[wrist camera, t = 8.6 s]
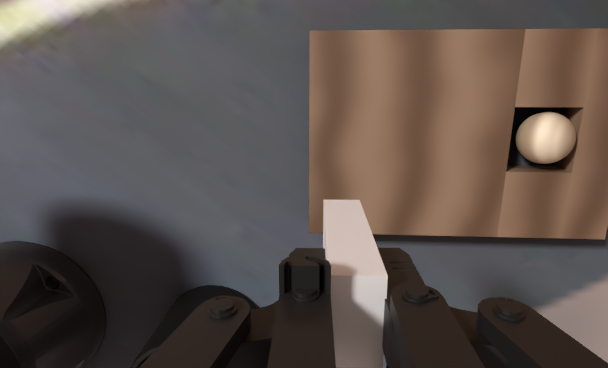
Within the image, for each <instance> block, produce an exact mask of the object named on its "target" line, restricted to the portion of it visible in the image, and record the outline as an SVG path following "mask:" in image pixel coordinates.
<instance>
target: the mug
mask: <svg viewBox="0 0 608 368" xmlns="http://www.w3.org/2000/svg"><path fill="white" fill-rule="evenodd" d="M225 295H227V296H236V297H240V298H243V299H244V300H246V301H247V302H248V303H249V306H250V310H252V309H255V307H254V306H253V304H252V303H251V302H250V301H249V300H248V299H247V298H246V297H244V296H243V295H242V294H240V293H238V292H237V291H235V290H232V289H230V288H226V287H223V286H215V285H207V286H201V287H198V288H195V289H192V290H190V291H188V292H186V293H184V294H183V295H182V296H180V297H179V299H178V300H177V301H176V302H175V303H174V305H173V306H172V308H171V309H170V311H169V312H168V313H167V315H166V316H165V318H164V319H163V321H162V322H161V324H160V325H159V326H158V328H157V329H156V331H155V332H154V334H153V335H152V337H151V338H150V340H149V341H148V342H147V344H146V345H145V347H144V348H143V350H142V351H141V353H140V354H139V355H138V357H137V358H136V360H135V361H134V363H133V364H132V366H131V367H130V368H139V367H140V366H141V365H142V364H143V363H144V362H145V361H146V360H147V359H148V358H149V357H150V356H151V355H152V354H153V353H154V352H155V351H156V350H157V349H158V347H159V346H160V345H161V344H162V343H163V342H164V341H165V340H166V339H167V338H168V337H169V336H170V335H171V334H172V333H173V332H174V331H175V330H176V329H177V328H178V327H179V326H180V325H181V324H182V323H183V322H184V321H185V319H186V318H187V317H188V316H189V315H190V314H191V313H192V312H193V311H194V310H195V309H196V308H197V307H198V306H199V305H201V304H202V303H203V302H205V301H207V300H209V299H212V298H214V297H218V296H225Z"/></svg>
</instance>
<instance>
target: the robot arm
mask: <svg viewBox="0 0 608 368" xmlns="http://www.w3.org/2000/svg"><path fill="white" fill-rule="evenodd" d="M279 294H280V295H279V300H278V301H276V302H275V303H273V304H271V305H269V306H266V307H262V308H258V309H252V310H250V306H249V303H248V302H247V301H246V300H244V299H243V298H240V297H236V296H227V295H225V296H218V297H214V298H212V299H209V300H207V301H205V302H203V303H202V304H201V305H199V306H198V307H197V308H196V309H195V310H194V311H193V312H192V313H191V314H190V315H189V316H188V317H187V318H186V319H185V321H184V322H183V323H182V324H181V325H180V326H179V327H178V328H177V329H176V330H175V331H174V332H173V333H172V334H171V335H170V336H169V337H168V338H167V339H166V340H165V341H164V342H163V343H162V344H161V345H160V346H159V347H158V349H157V350H156V351H155V352H154V353H153V354H152V355H151V356H150V357H149V358H148V359H147V360H146V361H145V362H144V363H143V364H142V365H141V366H140V367H139V368H336V367H352V368H383V354H384V355H385V359H386V363H387V367H386V368H608V363H607V362H605V361H604V360H602V359H601V358H600V357H598V356H597V355H596V354H594V353H593V352H591V351H590V350H589V349H587V348H586V347H584V346H583V345H582V344H580V343H579V342H578V341H576V340H575V339H573V338H572V337H571V336H569V335H568V334H566V333H565V332H564V331H562V330H561V329H560V328H558V327H557V326H555V325H554V324H553V323H551V322H550V321H548V320H547V319H546V318H544V317H543V316H542V315H540V314H539V313H537V312H536V311H535V310H533V309H532V308H530V307H528V306H526V305H525V304H523V303H520V302H517V301H515V300H513V299H509V298H507V299H505V298H502V297H499V298H488V299H484V300H482V301H481V302H480V303H479V304H478V312H477V313H476V312H471V311H466V310H460V309H456V308H452V307H450V306H448V304H447V302H446V301H445V299H444V297H443V296H442V295H441V294H440V293H439V292H438V291H437V290H435V289H433V288H431V287H429V286H426V285H425V284H424V282H423V280H422V278H421V276H420V275H419V273H418V271H417V270H416V267H415V265H414V264H413V262H412V260H411V258H410V256H409V254H407V253H406V252H404V251H403V250H401V249H400V248H377V245H376V243H375V240H374V237H373V235H372V232H371V229H370V226H369V224H368V221H367V218H366V216H365V213H364V210H363V208H362V205H361V202H360V200H323V248H296V249H295V250H294V251H293V252H292V253H291V254H289V257H288V258H286V259H284V260H282V261H281V263H280V264H279ZM104 333H105V312H104V307H103V303H102V300H101V298H100V295H99V293H98V291H97V289H96V288H95V286H94V284H93V283H92V281H91V280H90V279H89V277H88V276H87V275H86V274H85V273H84V272H83V270H82V269H80V268H79V267H78V266H77V265H76V264H75V263H74V262H72V261H71V260H70V259H68V258H67V257H65V256H64V255H62V254H60V253H59V252H57V251H55V250H53V249H50V248H48V247H45V246H42V245H39V244H35V243H30V242H22V241H11V242H3V243H0V368H83V367H84V366H85V365H86V363H87V362H88V361H89V360H90V359H91V358H92V356H93V355H94V354H95V353H96V351H97V350H98V348H99V347H100V345H101V342H102V340H103V337H104Z"/></svg>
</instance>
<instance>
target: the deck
mask: <svg viewBox="0 0 608 368" xmlns="http://www.w3.org/2000/svg"><path fill="white" fill-rule="evenodd" d="M515 107H564V109H563V116H565V117H566V118H567V119H569V120H570V121H571V123H572V124H573V126H574V128H575V131H576V142H575V145H574V147H573V149H572V150H571V152H570V153H569V154H568V155H567V156H566V157H564V158H563V159H561V160H559V161H557V162H555V163H554V166H517V165H507V162H508V155H509V147H510V140H511V133H512V125H513V118H514V111H515ZM323 200H360V202H361V205H362V208H363V210H364V213H365V216H366V218H367V221H368V224H369V226H370V229H371V232H372V234H384V235H429V236H474V237H520V238H565V239H605V236H606V232H607V227H608V29H469V30H327V31H310V98H309V233H323Z"/></svg>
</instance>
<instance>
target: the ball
mask: <svg viewBox="0 0 608 368" xmlns="http://www.w3.org/2000/svg"><path fill="white" fill-rule="evenodd" d="M575 142H576V131H575V128H574V126H573V124H572V123H571V121H570V120H569V119H567V118H566V117H565V116H563V115H561V114H558V113H554V112H542V113H538V114H535V115H532V116H530V117H529V118H527V119H526V120H525V121H524V122H523V123H522V124H521V125H520V127H519V128H518V130H517V133H516V146H517V148H518V150H519V152H520V153H521V154H522V156H524V157H525V158H526V159H528V160H530V161H532V162H535V163H539V164H548V163H554V162H557V161H559V160H561V159H563V158H564V157H566V156H567V155H568V154H569V153H570V152H571V150H572V149H573V147H574V145H575Z"/></svg>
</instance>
